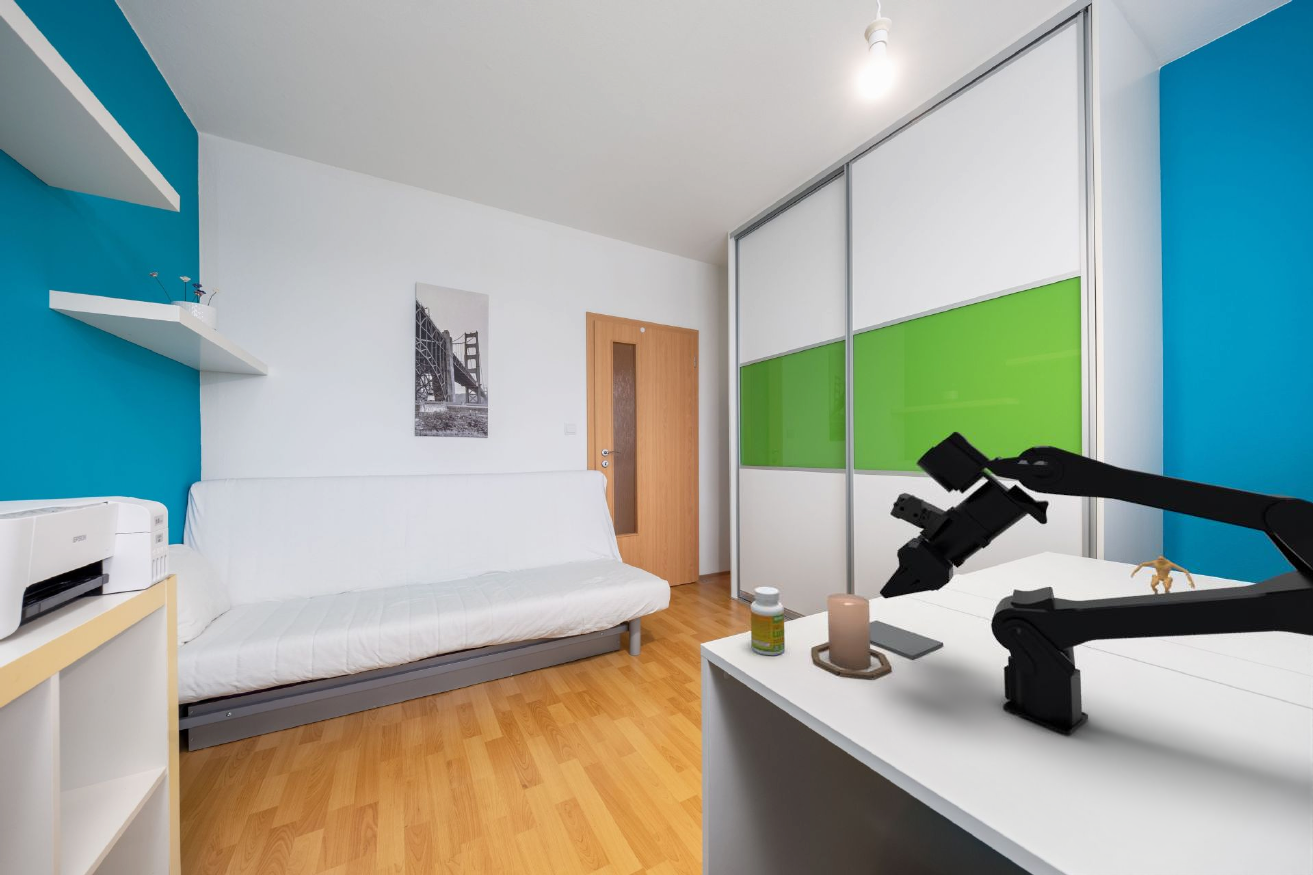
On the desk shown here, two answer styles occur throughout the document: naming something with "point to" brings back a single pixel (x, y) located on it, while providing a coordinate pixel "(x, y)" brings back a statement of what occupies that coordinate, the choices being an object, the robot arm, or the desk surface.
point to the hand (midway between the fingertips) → (890, 587)
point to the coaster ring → (850, 673)
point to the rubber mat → (901, 640)
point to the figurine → (1163, 573)
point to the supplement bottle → (767, 622)
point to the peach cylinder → (849, 631)
